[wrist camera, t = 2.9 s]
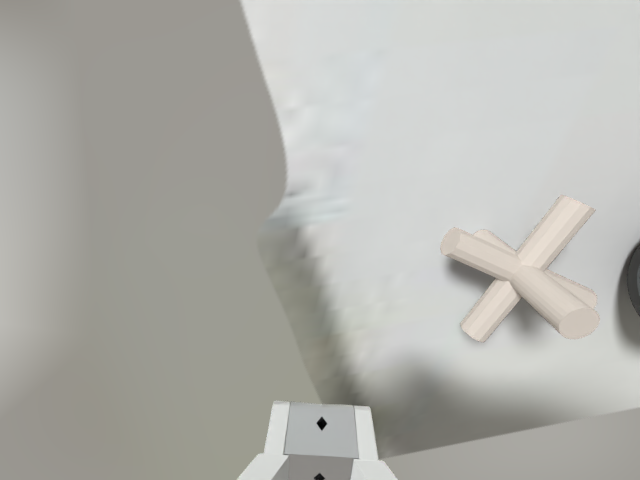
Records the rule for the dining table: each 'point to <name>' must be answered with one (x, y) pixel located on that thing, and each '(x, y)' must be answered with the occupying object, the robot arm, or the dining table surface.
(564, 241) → the beige crossed rods piece
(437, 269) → the dining table surface
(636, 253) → the lidded storage canister
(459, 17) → the dining table surface
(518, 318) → the dining table surface
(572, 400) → the dining table surface
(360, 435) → the robot arm
